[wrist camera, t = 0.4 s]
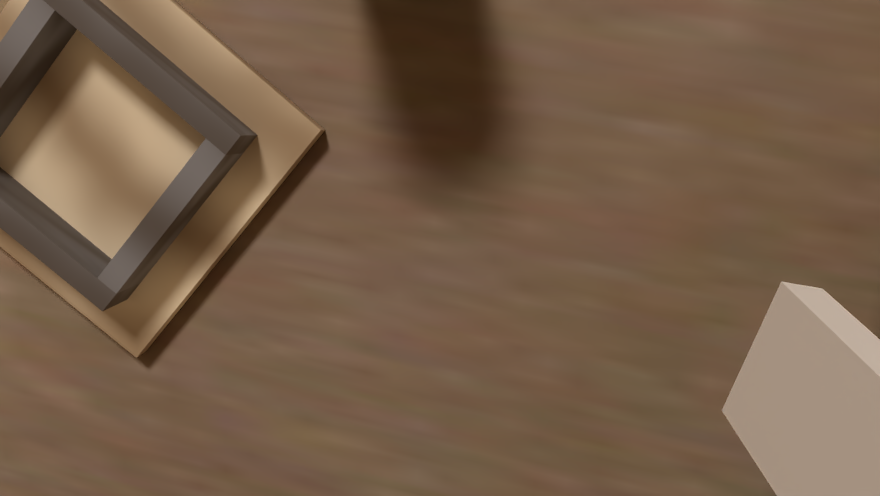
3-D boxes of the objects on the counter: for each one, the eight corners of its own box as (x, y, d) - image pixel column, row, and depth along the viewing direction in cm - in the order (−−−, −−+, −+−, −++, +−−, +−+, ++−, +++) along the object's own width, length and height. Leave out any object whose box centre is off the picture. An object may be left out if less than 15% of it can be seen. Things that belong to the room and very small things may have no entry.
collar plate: (80, -81, 35) (36, -104, 32) (325, 130, 36) (308, 130, 33) (-88, 162, 38) (-145, 165, 35) (145, 352, 39) (112, 373, 36)
